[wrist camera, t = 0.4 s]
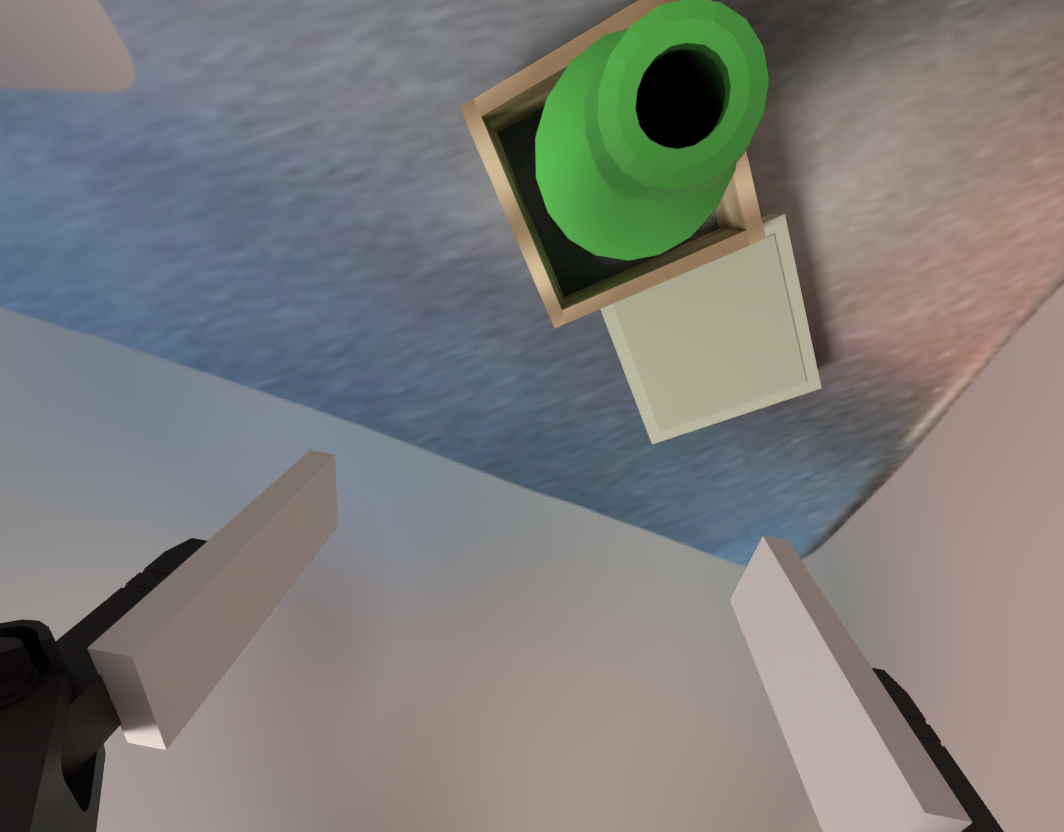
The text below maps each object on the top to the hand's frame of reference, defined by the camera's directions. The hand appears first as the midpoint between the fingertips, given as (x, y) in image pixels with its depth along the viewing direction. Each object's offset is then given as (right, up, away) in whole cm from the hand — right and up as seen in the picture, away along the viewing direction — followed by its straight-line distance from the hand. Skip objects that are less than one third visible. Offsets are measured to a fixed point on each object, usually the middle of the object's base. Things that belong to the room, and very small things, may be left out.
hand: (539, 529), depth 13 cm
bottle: (+6, +21, +20) cm, 30 cm away
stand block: (+14, +11, +24) cm, 29 cm away
